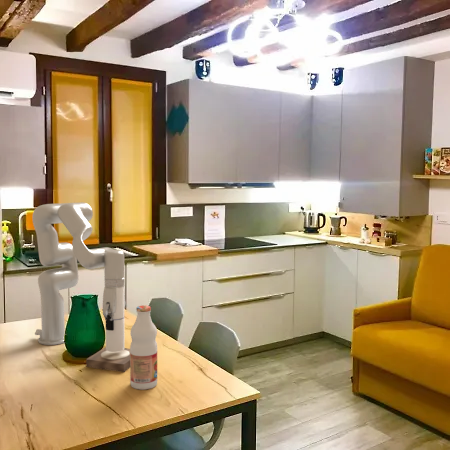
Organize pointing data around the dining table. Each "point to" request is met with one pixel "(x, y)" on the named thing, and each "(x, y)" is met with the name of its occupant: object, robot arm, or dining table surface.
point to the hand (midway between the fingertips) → (114, 326)
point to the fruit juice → (143, 351)
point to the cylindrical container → (117, 325)
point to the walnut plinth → (110, 360)
